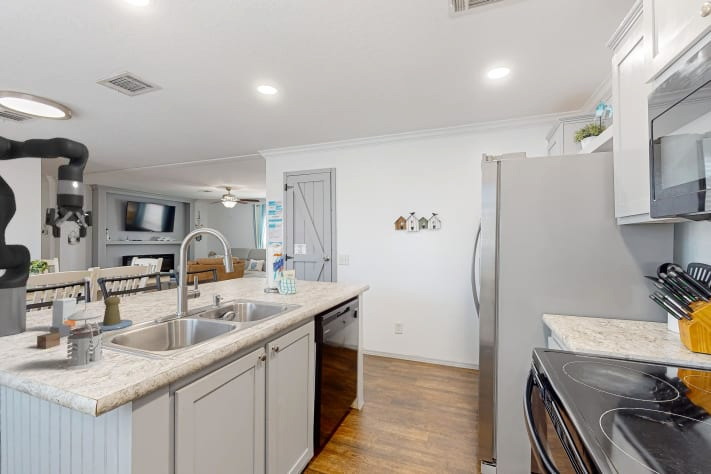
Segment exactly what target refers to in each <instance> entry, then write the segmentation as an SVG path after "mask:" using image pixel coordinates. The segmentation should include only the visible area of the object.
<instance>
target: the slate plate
mask: <svg viewBox="0 0 711 474" xmlns="http://www.w3.org/2000/svg"><path fill="white" fill-rule="evenodd" d="M96 323H97V324H98V326H99V327H101V329H100V330H99V331H101V332H110V331H116V330H117V331H118V330H122V329H126V328H129V327H131V326H132V325H133V320H130V319H121V323H120V324H117V325H112V326H103V321H99V322H96ZM94 324H95V323H94ZM94 324H90V325H91V327H92V326H94ZM97 324H96V325H95V326H97ZM88 326H89V325H88ZM89 327H90V326H89Z"/></svg>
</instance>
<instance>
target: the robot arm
mask: <svg viewBox="0 0 711 474" xmlns="http://www.w3.org/2000/svg"><path fill="white" fill-rule="evenodd" d="M89 157H90V153H89V149H88V147H87V146H86V145H85V144H84V143H82V142H79V141H76V140H72V139H69V138H67V137H59V136H57V137H52V138H30V139H26V140H23V141H19V140H13V139H10V138H7V137H4V136H2V135H0V161H11V160H17V159H26V158H27V159H28V158H29V159H33V158H34V159H57V158H64V159H68V160H69V162H68V164H61V165H59V166H58V167H57V184H56V206H57V208H54V207H50V208H49V207H48V208H46V211H45V221H44V223H45V225H46V226H50V227H51V228H52V231H51V232H52V237H53V238H54V239H57V238H61V231H62V230H61V226H62V224H63V223H65V222H74V224H75V223H76V224H77V225H78V227H79V228H78V238H80V239H81V238H86V237H87V234H88V233H87V229H88V228H89V227H93V213H92V211H91V210H83V208H84V206H85V200H84V198H85V196H84V195H85V194H84V193H85V188H84V171H85V168H86V166H87V163H88V159H89ZM16 201H17V200H16V196H15V193H14V191H13V188H12V187H11V186H10V184H8V182H7V181H6V179H4V178H3V176H1V174H0V271H1V270H5V272H4V273H3V274H2V275H0V337H4V336H5V337H6V336H11V335H16V334H21V333H24V332H26V331H27V285H28V284H27V282H28V280H29V277H30V271H31V260H32V259H31V256H32V255H31V252H30V250H29V248H28V247H27V246H26V245H24V244H6V230H7V227H8V226H9V224H10V223H11V221H12V219H13V218H14V216H15V215H16V211H17V204H16V203H17V202H16ZM56 215H57V216H56Z"/></svg>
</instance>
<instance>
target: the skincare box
mask: <svg viewBox="0 0 711 474" xmlns="http://www.w3.org/2000/svg"><path fill="white" fill-rule="evenodd" d="M76 312H77V297H63V298H58V299H54V300H52V314H51V315H52V319H51V320H52V322H51V323H52V325H51V327H52V326H56V325H61V324H68V325H71V330H73V329H76V327H77V321H70V320H68V319H67V317H69V316H70V315H72V314H74V313H76Z"/></svg>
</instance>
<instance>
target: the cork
mask: <svg viewBox="0 0 711 474" xmlns="http://www.w3.org/2000/svg"><path fill="white" fill-rule="evenodd" d="M103 303H104V305H105V308H104V313H103V315H104V316H103V321H102V322H103V326H112V325H117V324H120V323H121V320H122V319H121V313H120V307H119V306H120V305H119V304H120V303H121V299H120V297H119V296H108V297H106V298H104V301H103Z"/></svg>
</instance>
